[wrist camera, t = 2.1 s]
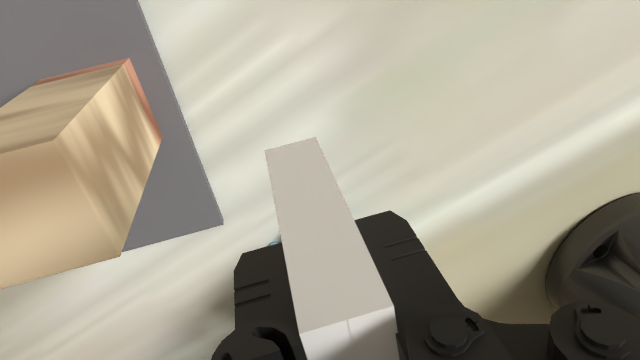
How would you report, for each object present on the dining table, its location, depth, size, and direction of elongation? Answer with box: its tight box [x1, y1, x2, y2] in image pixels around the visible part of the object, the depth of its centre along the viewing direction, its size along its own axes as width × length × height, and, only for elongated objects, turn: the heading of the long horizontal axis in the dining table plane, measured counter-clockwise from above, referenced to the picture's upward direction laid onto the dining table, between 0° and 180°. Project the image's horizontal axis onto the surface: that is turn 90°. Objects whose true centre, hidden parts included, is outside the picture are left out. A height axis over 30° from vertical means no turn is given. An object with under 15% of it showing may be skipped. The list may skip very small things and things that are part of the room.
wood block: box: [0, 58, 163, 289], centre depth 20 cm, size 5×5×12 cm
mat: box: [0, 0, 223, 252], centre depth 25 cm, size 20×19×1 cm
